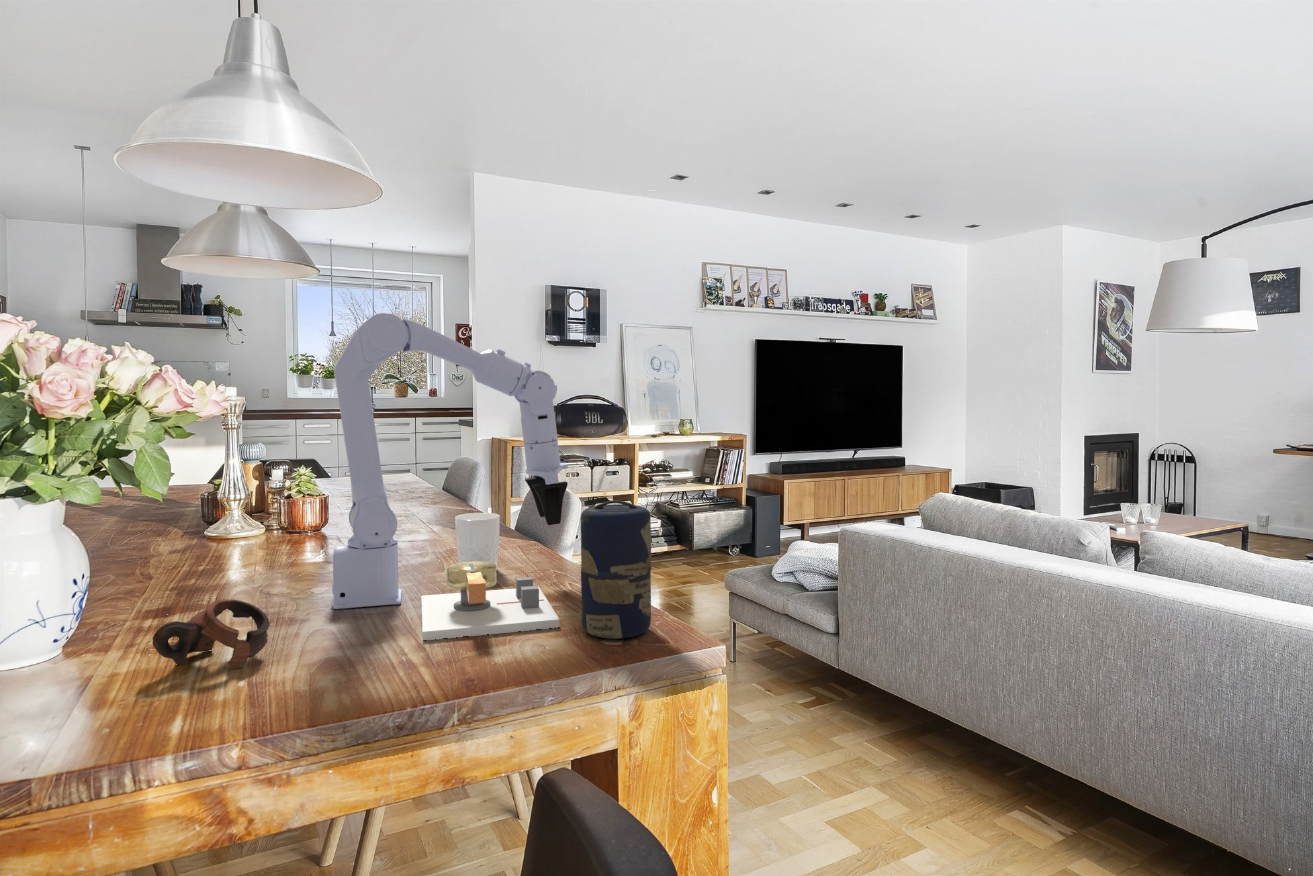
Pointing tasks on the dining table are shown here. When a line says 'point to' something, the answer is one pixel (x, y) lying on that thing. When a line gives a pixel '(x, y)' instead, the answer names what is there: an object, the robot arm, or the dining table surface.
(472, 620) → the base
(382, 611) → the dining table surface
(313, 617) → the dining table surface
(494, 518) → the white cup
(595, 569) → the canister
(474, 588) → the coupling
